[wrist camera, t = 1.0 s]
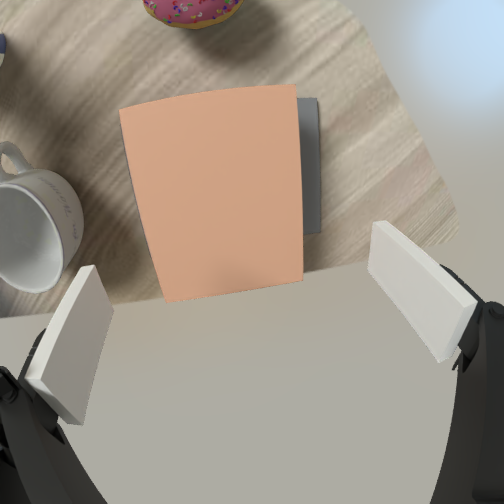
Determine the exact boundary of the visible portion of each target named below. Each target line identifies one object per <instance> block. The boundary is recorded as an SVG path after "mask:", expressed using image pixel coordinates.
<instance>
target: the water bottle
mask: <svg viewBox="0 0 504 504" xmlns="http://www.w3.org/2000/svg"><path fill="white" fill-rule="evenodd" d="M5 49H6V41H5V37H4V34H3V33H2V32H1V31H0V67H1V65H2V62H3V59H4V55H5Z"/></svg>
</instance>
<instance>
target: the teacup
mask: <svg viewBox="0 0 504 504" xmlns="http://www.w3.org/2000/svg"><path fill="white" fill-rule="evenodd" d="M2 153H4V154H5V155H7V156H8V157H9V158H10V160H11V161H12V162H13V164H14V165H15V167H16V169H17V171H18V174H17V175H14V174H7V173H6V172H5V171H4V170H3V168H2V165H1V155H2ZM83 230H84V217H83V211H82V206H81V203H80V201H79V198H78V196H77V194H76V192H75V191H74V189H73V188H72V186H71V185H70V184H69V183H68V182H67V181H66V180H65V179H64V178H63V177H61V176H60V175H58V174H57V173H55V172H52V171H50V170H46V169H34V168H33V166H32V165H31V164H29V163H28V162H27V160H26V159H25V157H24V156H23V154H22V152H21V151H20V150H19V148H18V147H17V146H16V145H15V144H13V143H11V142H7V141H6V142H2V143H0V277H1V278H2V279H3V280H4V281H5V282H7V283H8V284H9V285H11V286H13V287H14V288H16V289H18V290H21V291H24V292H27V293H34V294H38V293H43V292H46V291H49V290H50V289H52V288H53V287H54V286H55V285H56V284H57V283H58V281H59V279H60V278H61V276H62V273H63V271H64V270H65V269H66V267H67V266H68V264H69V263H70V261H71V260H72V258H73V256H74V255H75V253H76V251H77V249H78V248H79V245H80V243H81V240H82V236H83Z"/></svg>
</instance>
